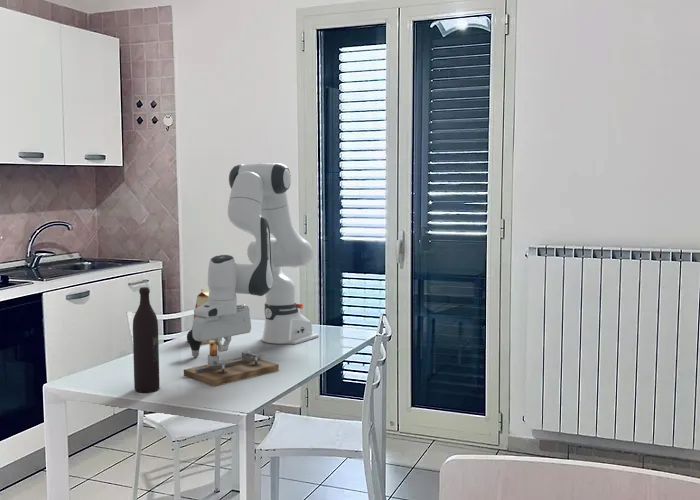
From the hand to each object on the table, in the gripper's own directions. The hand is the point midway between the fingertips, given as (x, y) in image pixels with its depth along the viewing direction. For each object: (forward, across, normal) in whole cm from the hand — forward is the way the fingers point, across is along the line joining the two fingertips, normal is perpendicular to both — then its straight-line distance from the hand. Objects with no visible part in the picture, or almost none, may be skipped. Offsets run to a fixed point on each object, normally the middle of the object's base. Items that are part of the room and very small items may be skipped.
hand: (223, 351), depth 224 cm
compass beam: (+5, -2, +2) cm, 6 cm away
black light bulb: (+7, -5, -24) cm, 25 cm away
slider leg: (+5, +4, +2) cm, 6 cm away
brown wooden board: (+7, -2, +1) cm, 8 cm away
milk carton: (+7, -23, -44) cm, 50 cm away
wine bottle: (+8, +26, -2) cm, 27 cm away
